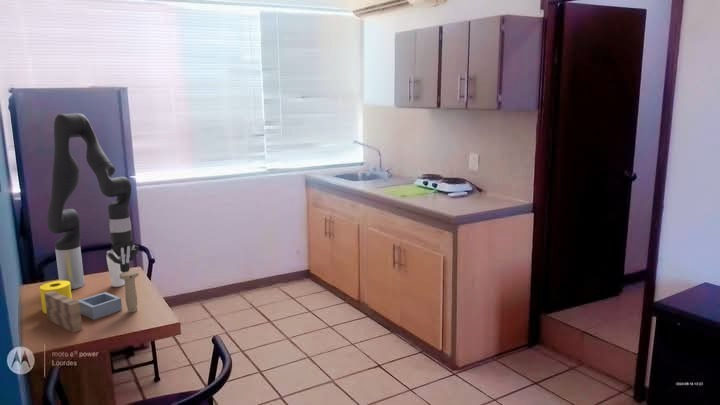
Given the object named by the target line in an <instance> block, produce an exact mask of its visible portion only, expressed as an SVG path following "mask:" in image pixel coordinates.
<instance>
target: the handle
mask: <svg viewBox="0 0 720 405" xmlns="http://www.w3.org/2000/svg"><path fill="white" fill-rule="evenodd" d="M137 277H139V271H138V270H129V271H128V272H123V273H121V274H120V278H121V279H123V280H125V284H124V288H125V289H124V294H125V303H126V304H125V305H126V309H127V312H128V313H135V312H136V311H137V312H138V294H137V289H136V281H135V280H136V278H137Z"/></svg>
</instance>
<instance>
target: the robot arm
mask: <svg viewBox="0 0 720 405" xmlns="http://www.w3.org/2000/svg"><path fill="white" fill-rule="evenodd" d="M53 124H54V125H53V137H54V139H53V140H54V142H53V143H54V154H53V155H54V156H53V168H52V174H51V175H52V178H51V194H50V201H49V206H48V210H47V217H46V226H47V229H48V231H49V232H50V233H52V234H54V235H56V234H57V235H58V234H63V233H64V234H63V236H61V238H59V239H57V240H56V241H55V242H54V250H55V256H56V259H55V260H56V265H57V266H56V267H57V274H58V275H57V276H58V281H69V282H70V286H71V290H76V289H80V288H83V286H84V285H85V277H84V269H83V268H84V267H83V258H82V251H81V250H82V249H81V238H82V236H81V222H80V221H81V220H80V216H79V214H78V212H77V211H76V210H75V209H74V208H67V209H64V208H65V205H66V203H67V201H68V199H69V198H70V197H71V196H72V194H73V193H74V192H75V190H76V189H77V187H78V185H79V180H80V166H79V164H78V162H77V161H76V159H75V157H74V156H73V155H72V153H71V150H70V139H71V138H81V139H82V140H83V141H84V142H85V144H86V156H85V157H86V161H87V164H88V166H89V167H90V169H91V170H92V171H93V173H94V174H95V176H96V179H97V181H98V182H97V183H98V186H99V189H100V191H101V194H102V195H104V196H105V197H108V198H114V197H116V199H115V200H114V201H113V202H111V203H109V204H108V207H107V208H108V209H107V210H108V211H107V212H108V219H109V223H108V225H109V236H110V242H111V247H110V250H108V251H109V252H108V251H106V252H105V255H107V256H108V257H109V258H110V259H111V260H112V261H113V262H115V263H117V264H120V270H121V272H122V273H123V272H128V271H130V262H131V261H134V260H135V257H136V255H137V254H138V252H139V250H140V246H138V245H135V244H134V242H133V232H132V230H133V229H132V222H131V218H130V208H129V205H130V199H131V196H132V195H131V194H132V183H131V181H130V179H129V178H127V177H125V176H115V177H112V176H113V175H114V174H115V172H116V168H115V166H114V164H113V163H112V162H111V161H110V159H109V158H108V156H107V154H106V153H105V151H104V150H103V148H102V146H101V144H100V142H99V140H98V137H97V135H96V133H95V131H94V129H93V127H92V124H91V123H90V121H89V120H88V117H86V115H84V114H83V113H79V112H75V113H74V112H73V113H59V114H58V115H56V117H55V118H54V123H53ZM114 253H115V254H116V255H117V258H118V259H117V258H116V257H115V256H114ZM107 256H106V257H107Z"/></svg>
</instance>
